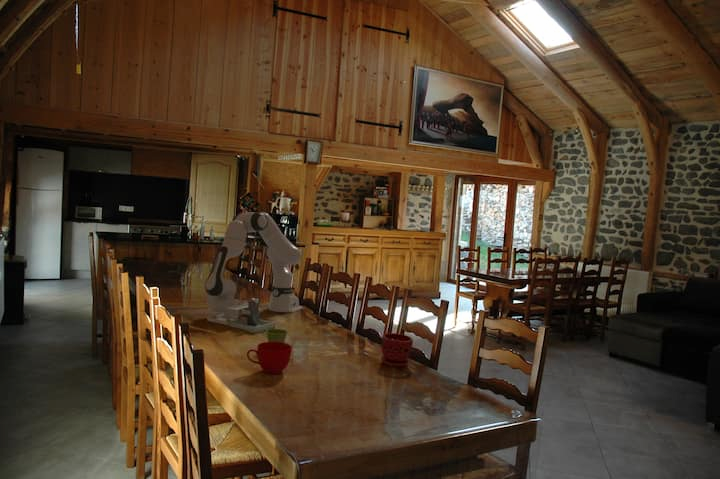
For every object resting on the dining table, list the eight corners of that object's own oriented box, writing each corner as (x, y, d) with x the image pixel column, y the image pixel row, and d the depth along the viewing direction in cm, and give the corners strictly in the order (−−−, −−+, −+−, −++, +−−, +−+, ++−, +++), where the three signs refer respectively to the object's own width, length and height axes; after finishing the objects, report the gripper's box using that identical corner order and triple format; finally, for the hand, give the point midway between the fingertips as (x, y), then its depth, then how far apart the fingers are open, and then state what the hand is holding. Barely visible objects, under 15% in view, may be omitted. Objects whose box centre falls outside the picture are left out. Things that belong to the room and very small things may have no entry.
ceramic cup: (243, 367, 212) (244, 342, 211) (285, 365, 218) (287, 341, 217) (248, 378, 200) (250, 351, 199) (293, 376, 206) (295, 350, 205)
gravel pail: (251, 322, 279) (253, 296, 278) (260, 324, 276) (262, 298, 275) (244, 324, 274) (246, 298, 273) (253, 326, 272) (255, 299, 271)
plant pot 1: (284, 354, 233) (285, 334, 233) (262, 353, 233) (264, 333, 233) (287, 349, 243) (289, 329, 242) (266, 347, 243) (268, 328, 242)
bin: (250, 323, 286) (250, 317, 286) (274, 328, 279) (275, 322, 279) (229, 328, 272) (230, 322, 272) (255, 333, 265) (255, 327, 264)
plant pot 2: (385, 369, 224) (387, 340, 223) (376, 359, 237) (378, 332, 236) (415, 368, 228) (417, 340, 227) (404, 359, 240) (406, 332, 239)
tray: (225, 318, 293) (226, 312, 292) (246, 322, 286) (246, 316, 286) (207, 322, 280) (207, 315, 280) (227, 327, 274) (228, 320, 274)
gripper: (220, 304, 271) (241, 308, 265) (246, 299, 289) (267, 303, 283) (219, 316, 272) (240, 321, 265) (246, 310, 290) (266, 315, 283)
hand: (254, 311), depth 274 cm, fingers closed on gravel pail, 5 cm apart
